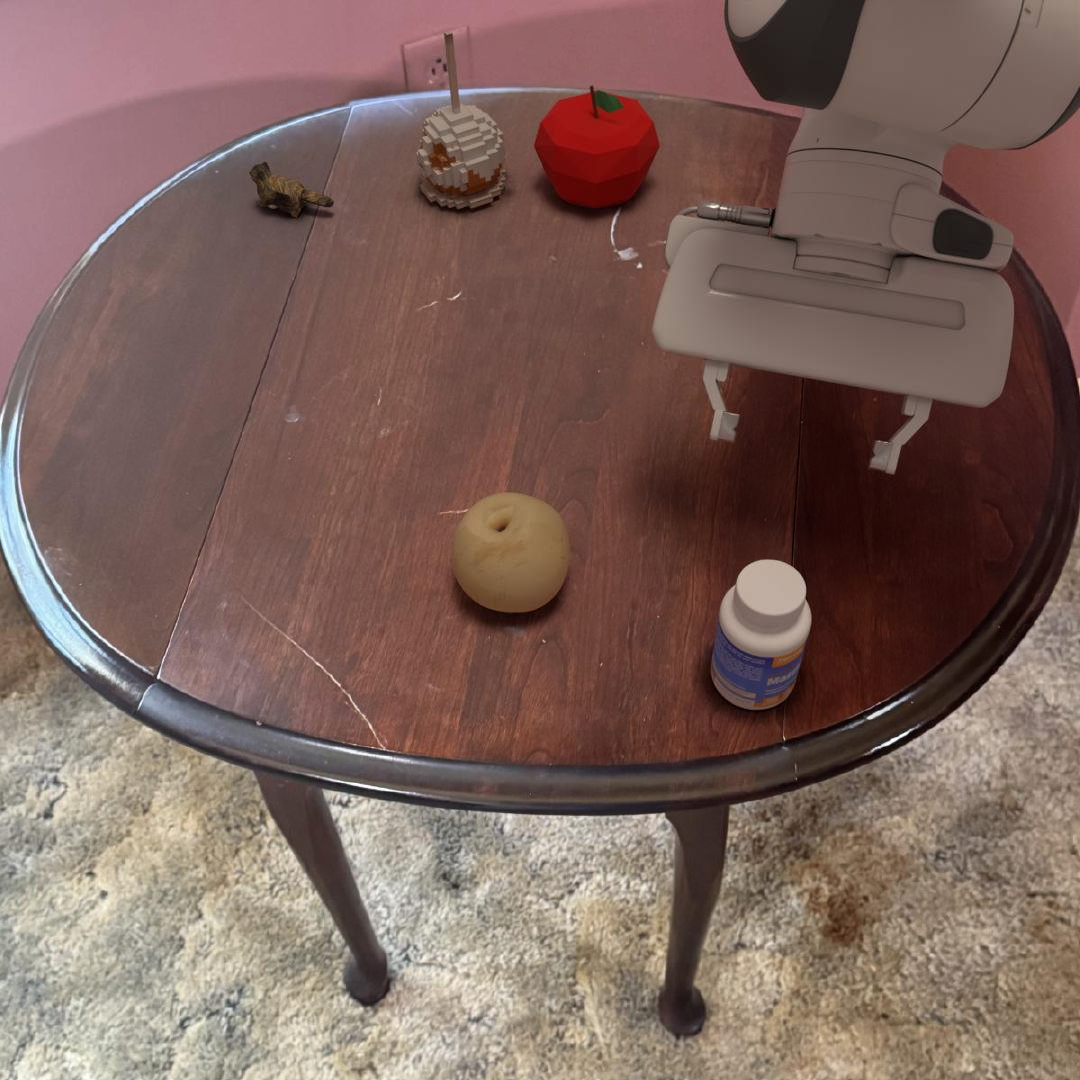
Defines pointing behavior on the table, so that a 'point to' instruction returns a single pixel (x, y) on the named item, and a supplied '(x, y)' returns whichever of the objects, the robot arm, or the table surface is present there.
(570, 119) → the apple
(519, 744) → the table surface
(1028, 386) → the table surface
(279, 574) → the table surface
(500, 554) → the apple
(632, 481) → the table surface
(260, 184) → the cat figurine
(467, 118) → the caramel apple
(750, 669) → the pill bottle
